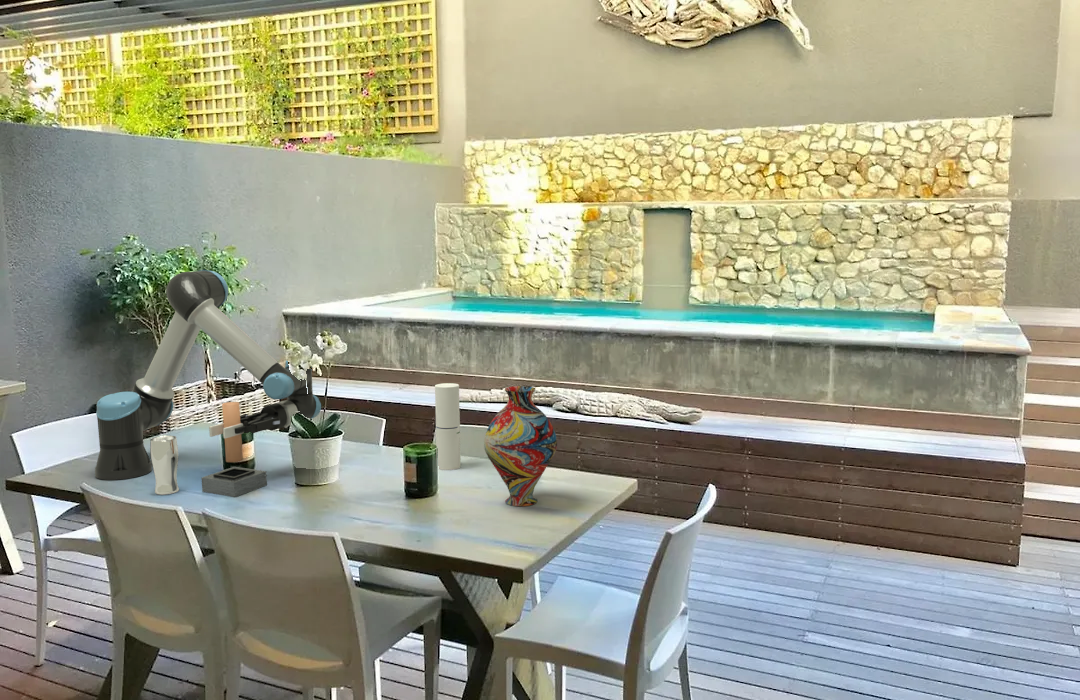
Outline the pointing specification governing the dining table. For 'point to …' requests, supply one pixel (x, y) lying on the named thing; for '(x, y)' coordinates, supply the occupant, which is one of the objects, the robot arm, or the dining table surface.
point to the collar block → (234, 481)
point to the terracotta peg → (235, 442)
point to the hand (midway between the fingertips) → (217, 432)
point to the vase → (520, 444)
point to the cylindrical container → (448, 426)
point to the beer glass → (165, 463)
